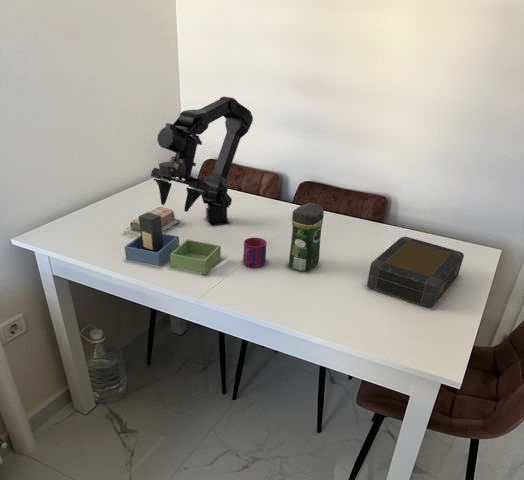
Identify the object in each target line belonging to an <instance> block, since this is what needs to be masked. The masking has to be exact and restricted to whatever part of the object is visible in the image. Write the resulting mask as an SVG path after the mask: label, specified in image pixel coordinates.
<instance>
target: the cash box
mask: <svg viewBox="0 0 524 480" xmlns="http://www.w3.org/2000/svg"><path fill="white" fill-rule="evenodd" d="M464 254H465V253H463V252H461V251H459V250H455V249H453V248H448V247H445V246H442V245H439V244H434V243H430V242H427V241H424V240H420V239H416V238H413V237H409V236H401V237H400V238H399V239H397V240H396V241H394V243H392V244H391V246H389V247H388V248H386V249H385V250H384V251H383V252H382V253H381V254H380V255H378V256H377V257H376V258H374V260H372V262H370V266H369V271H368V277H367V283H366V287H367V288H369V289H372V290H374V291H377V292H381V293H382V294H385V295H389V296H393V297H395V298H398V299H401V300H404V301H407V302H409V303H413V304H416V305H418V306H422V307H425V308H433V307H435V305H436V304H437V303H438V301H439V300H440V299H441V298H442V297H443V295H444V294H445V293H446V291H447V290H448V289H449V287H450V286H451V285H452V284H453V282H454V281H455V280H456V278H457V277H458V276H459V274H460V270H461V267H462V264H463V262H464V261H463V260H464V257H465V255H464Z"/></svg>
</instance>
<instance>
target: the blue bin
mask: <svg viewBox="0 0 524 480" xmlns="http://www.w3.org/2000/svg"><path fill="white" fill-rule="evenodd" d="M162 237H163V248H162V249H161V250H160V251H159V252H152V251H147V250H143V249H142V241H141V235H140V236H139V237H137V236H136V238H135V239H133V240H132V241H130V242H129V243H128V244H126V245H125V246H124V254H125V259H126V260H127V261H132V262H137V263H143V264H148V265H152V266H156V267H161V265H163V264H164V263H165V262H166V261H167V260H168V259H169V258H170V254H171V253H172V252H173V251H174V250H176V249H177V248H178V247H179V246H180V236H178V235H174V234H169V233H163V232H162Z"/></svg>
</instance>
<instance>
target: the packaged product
mask: <svg viewBox="0 0 524 480" xmlns="http://www.w3.org/2000/svg"><path fill="white" fill-rule="evenodd" d="M148 212H149V213H152V214H156V215H159V216H161V225H162V232H164V231H166V230H168V229H169V228H170V227H173V226H174V225H176V224H178V223H180V222H181V220H180V219H178V218H175V215H176V214H175V212H174V210H173V209H171V208H168V207H163V206H159V207H157V208H155V209H152V210H150V211H148ZM123 233H124V234H127V235H130V236H134V237H136V238H137V237H139V236H140V235H141V232H140V224H139V217H136V218H135V219H133V220H131V221H130V226H128V227H126V228H124V229H123Z"/></svg>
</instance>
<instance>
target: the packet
mask: <svg viewBox="0 0 524 480" xmlns="http://www.w3.org/2000/svg"><path fill="white" fill-rule="evenodd" d="M149 212H150V211H147V212H145V213H142V214H140V215H139V216H138V218H139V224H140V232H141V241H142V249H143V250H147V251H152V252H159V251H160V250H161V249H162V248H163V237H162V233H163V231H162V225H161V216H159V215H156V214H152V213H149Z"/></svg>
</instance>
